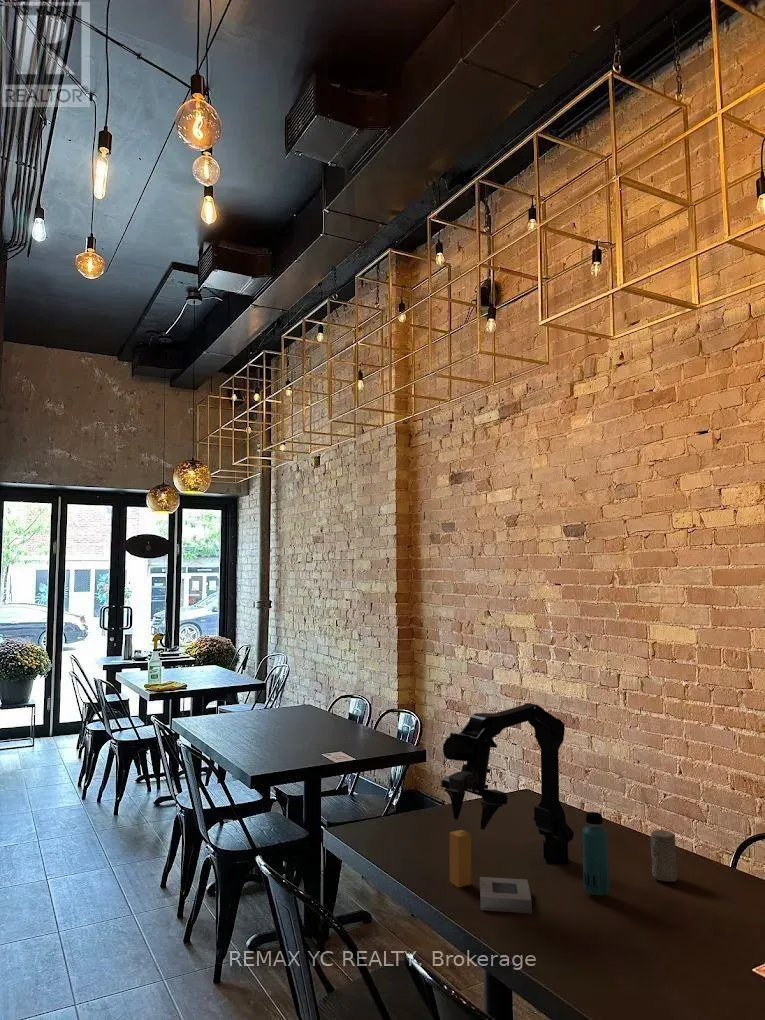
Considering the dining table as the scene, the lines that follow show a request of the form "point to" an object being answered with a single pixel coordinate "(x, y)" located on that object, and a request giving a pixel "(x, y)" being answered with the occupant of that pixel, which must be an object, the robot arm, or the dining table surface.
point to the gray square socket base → (505, 895)
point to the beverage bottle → (595, 856)
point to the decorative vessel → (663, 855)
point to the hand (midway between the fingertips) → (468, 824)
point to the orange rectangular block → (460, 858)
